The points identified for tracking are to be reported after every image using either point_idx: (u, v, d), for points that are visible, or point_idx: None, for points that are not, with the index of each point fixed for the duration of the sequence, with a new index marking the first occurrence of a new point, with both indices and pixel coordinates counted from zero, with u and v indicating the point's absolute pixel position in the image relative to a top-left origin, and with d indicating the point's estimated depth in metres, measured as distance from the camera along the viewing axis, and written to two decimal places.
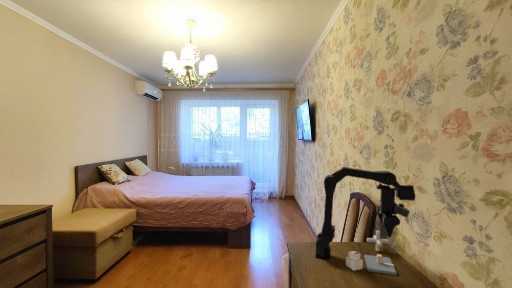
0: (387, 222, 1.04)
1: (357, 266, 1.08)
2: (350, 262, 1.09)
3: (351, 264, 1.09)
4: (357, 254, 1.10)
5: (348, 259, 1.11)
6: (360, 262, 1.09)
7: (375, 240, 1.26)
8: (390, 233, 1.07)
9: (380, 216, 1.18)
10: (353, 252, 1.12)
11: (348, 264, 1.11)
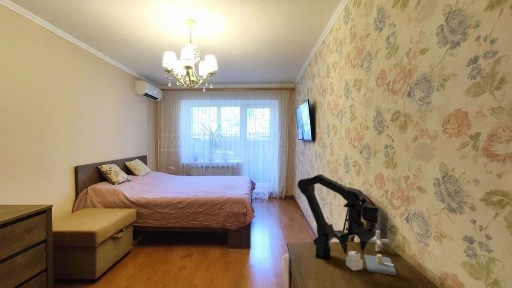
0: (334, 236, 1.09)
1: (357, 266, 1.08)
2: (350, 262, 1.09)
3: (351, 264, 1.09)
4: (357, 254, 1.10)
5: (348, 259, 1.11)
6: (360, 262, 1.09)
7: (375, 240, 1.26)
8: (344, 250, 1.09)
9: None
10: (353, 252, 1.12)
11: (348, 264, 1.11)
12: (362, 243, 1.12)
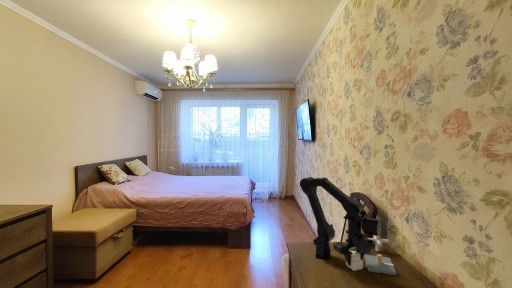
0: (334, 248, 1.09)
1: (357, 266, 1.08)
2: None
3: (351, 264, 1.09)
4: (357, 254, 1.10)
5: None
6: (360, 262, 1.09)
7: (375, 240, 1.26)
8: (348, 261, 1.09)
9: (357, 248, 1.13)
10: (353, 252, 1.12)
11: None
12: None
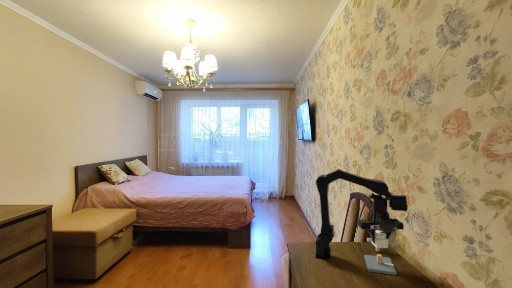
0: (357, 224, 1.13)
1: (381, 244, 1.09)
2: None
3: (375, 242, 1.10)
4: (382, 233, 1.10)
5: None
6: (385, 241, 1.09)
7: None
8: (372, 239, 1.11)
9: None
10: (379, 231, 1.13)
11: None
12: None
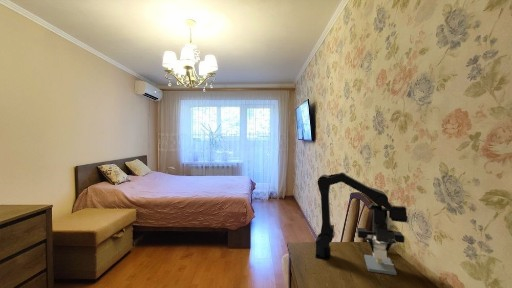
0: None
1: (379, 255, 1.09)
2: None
3: (373, 252, 1.11)
4: (381, 244, 1.10)
5: (373, 247, 1.13)
6: (383, 252, 1.09)
7: (375, 240, 1.26)
8: (371, 248, 1.12)
9: None
10: (380, 242, 1.13)
11: (373, 252, 1.13)
12: (386, 246, 1.11)
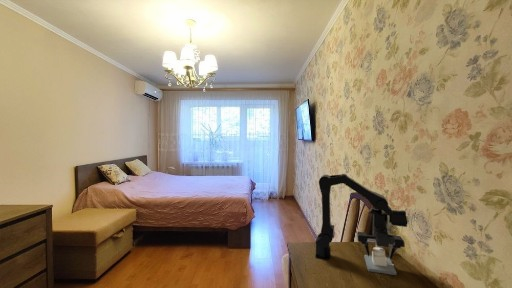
0: None
1: (379, 262, 1.10)
2: (373, 256, 1.12)
3: (373, 259, 1.11)
4: (381, 251, 1.11)
5: (372, 254, 1.13)
6: (383, 259, 1.09)
7: None
8: (367, 252, 1.13)
9: (390, 244, 1.12)
10: (379, 248, 1.13)
11: (372, 258, 1.13)
12: (390, 251, 1.10)
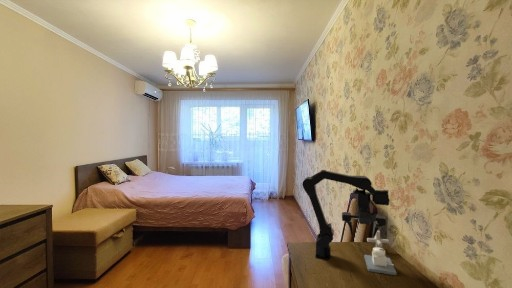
0: None
1: (379, 262, 1.10)
2: (373, 256, 1.12)
3: (373, 259, 1.11)
4: (381, 251, 1.11)
5: (372, 254, 1.13)
6: (383, 259, 1.09)
7: (375, 240, 1.26)
8: None
9: (374, 224, 1.16)
10: (379, 248, 1.13)
11: (372, 258, 1.13)
12: (373, 230, 1.14)
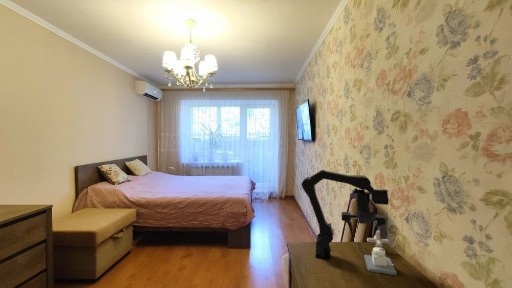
0: (341, 216, 1.20)
1: (379, 262, 1.10)
2: (373, 256, 1.12)
3: (373, 259, 1.11)
4: (381, 251, 1.11)
5: (372, 254, 1.13)
6: (383, 259, 1.09)
7: (375, 240, 1.26)
8: None
9: (373, 223, 1.16)
10: (379, 248, 1.13)
11: (372, 258, 1.13)
12: (373, 229, 1.14)
